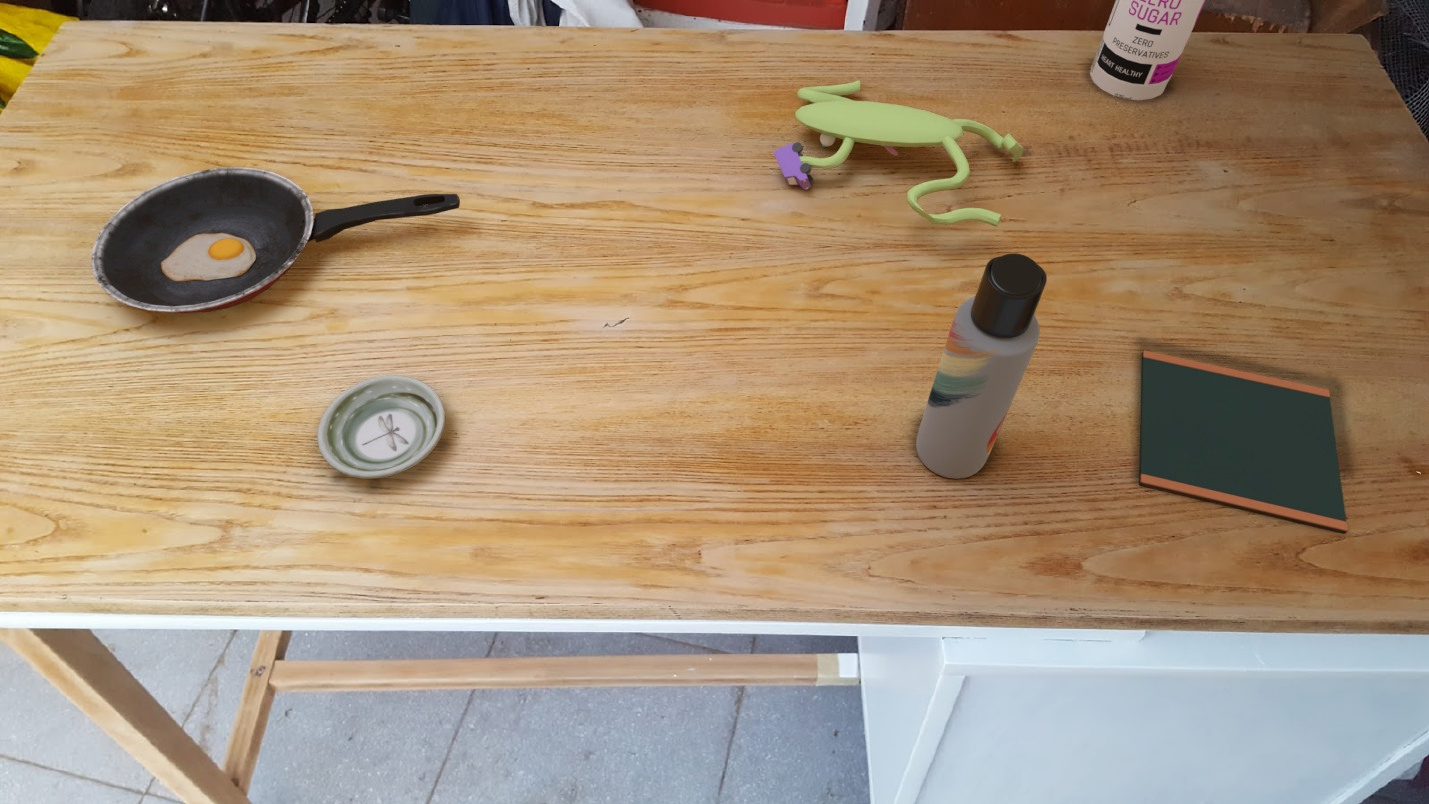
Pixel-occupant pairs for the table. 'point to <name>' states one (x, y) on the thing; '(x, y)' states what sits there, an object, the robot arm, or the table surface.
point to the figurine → (886, 141)
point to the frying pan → (223, 237)
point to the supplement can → (1143, 46)
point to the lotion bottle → (981, 367)
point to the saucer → (381, 427)
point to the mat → (1240, 441)
